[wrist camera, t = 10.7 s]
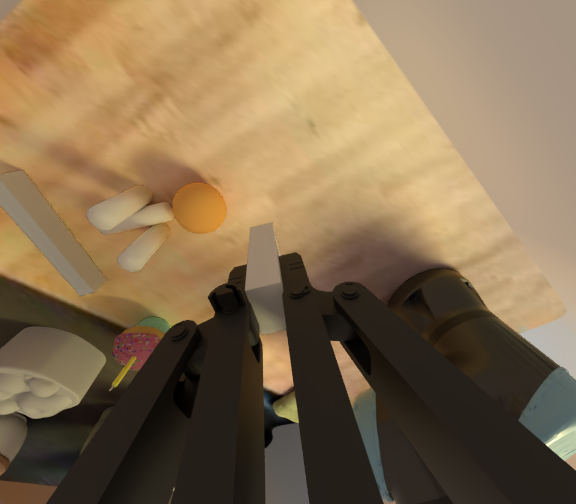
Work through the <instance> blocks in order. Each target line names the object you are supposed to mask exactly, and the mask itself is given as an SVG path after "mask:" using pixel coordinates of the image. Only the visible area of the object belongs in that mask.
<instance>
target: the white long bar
mask: <svg viewBox="0 0 576 504" xmlns="http://www.w3.org/2000/svg"><path fill="white" fill-rule="evenodd" d="M0 206H1V207H2V208H3V209H4V210H5V211H6V212H7V214H8V215H9V216H10V217H11V218H12V219H13V220H14V222H15V223H16V224H17V225H18V226H19V227H20V228H21V230H22V231H23V232H24V233H25V234H26V235H27V236H28V237H29V239H30V240H31V241H32V242H33V243H34V244H35V245H36V247H37V248H38V249H39V250H40V251H41V252H42V253H43V254H44V256H45V257H46V258H47V259H48V260H49V261H50V262H51V264H52V265H53V266H54V267H55V268H56V269H57V270H58V272H59V273H60V274H61V275H62V276H63V277H64V278H65V279H66V281H67V282H68V283H69V284H70V285H71V286H72V287H73V289H74V290H75V291H76V292H77V293H78V294H79V295H80V296H83V295H87V294H91V293H95V292H96V291H97V290H98V289H99V288H100V287H101V286H102V285H103V284H104V283H105V282H106V281H107V279H106V278H105V277H104V275H103V274H102V273H101V271H100V270H99V269H98V267H97V266H96V265H95V264H94V262H93V261H92V260H91V258H90V257H89V256H88V254H87V253H86V252H85V250H84V249H83V248H82V246H81V245H80V244H79V243H78V241H77V240H76V239H75V237H74V236H73V235H72V233H71V232H70V231H69V229H68V228H67V227H66V226H65V224H64V223H63V222H62V220H61V219H60V218H59V216H58V215H57V214H56V212H55V211H54V210H53V209H52V207H51V206H50V205H49V203H48V202H47V201H46V199H45V198H44V197H43V195H42V194H41V193H40V192H39V190H38V189H37V188H36V186H35V185H34V184H33V182H32V181H31V180H30V178H29V177H28V176H27V175H26V173H25V172H24V171H23V170H21V171H15V172H10V173H4V174H0Z"/></svg>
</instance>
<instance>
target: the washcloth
mask: <svg viewBox="0 0 576 504" xmlns="http://www.w3.org/2000/svg"><path fill="white" fill-rule="evenodd" d="M273 408H274V410H275V412H276V414H277V415H278V416H281V417H286V418H288V419H290V420H291V421H294V422H297V423H299V420H298V413H297V405H296V398H295V390H294V391H293V392H292V393H290V394H289V395H287V396H286V395H285V396H283V397H282V398H280V399H278V400H276V401H275V402H274V403H273Z"/></svg>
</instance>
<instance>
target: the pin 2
mask: <svg viewBox="0 0 576 504" xmlns="http://www.w3.org/2000/svg"><path fill="white" fill-rule="evenodd" d="M169 235H170V228H169V227H168V225H166V224H165V223H158V224H154V225H152V226H151V227H150V228H148V229H147V230H146V231H145V232H144V233H143V234H142V235H141V236H140V237H139V238H137V239H136V240H135V241H134V242H133V243H132V244H131V245H130V246H129V247H128V248H127V249H125V250H124V251H123V252H122V253H121V254H120V255H119V256H118V259H117V260H118V264H119V265H120V266H121V267H122V268H123V269H125V270H127V271H130V272H136V271H139V270H141V269H142V267H143V266H144V265H145V264H146V263H147V261H148V260H149V259H150V258H151V257H152V255H153V254H154V253H155V252H156V251H157V249H158V248H159V247H160V246H161V245H162V243H163V242H164V241H165V240H166V239H167V237H168V236H169Z"/></svg>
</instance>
